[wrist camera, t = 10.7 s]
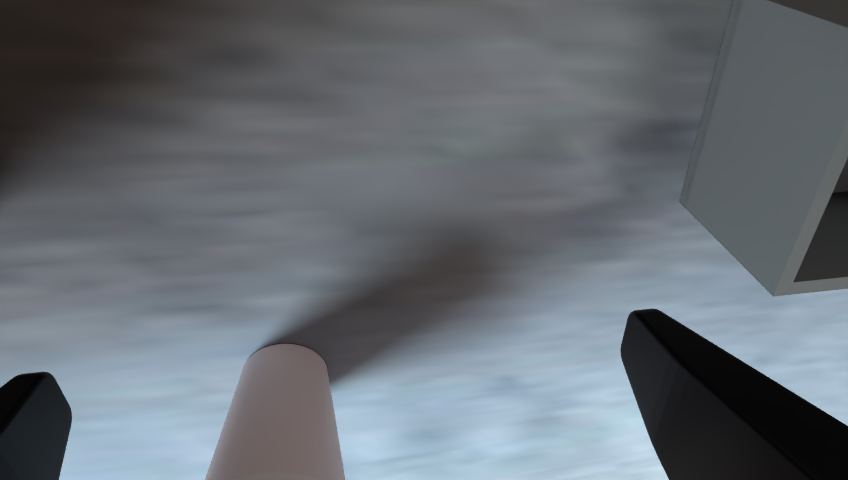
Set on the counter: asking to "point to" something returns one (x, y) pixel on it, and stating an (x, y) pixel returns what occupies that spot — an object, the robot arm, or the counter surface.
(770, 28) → the grey open box
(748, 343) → the counter surface
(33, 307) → the counter surface
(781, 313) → the counter surface
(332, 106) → the counter surface
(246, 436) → the smoothie
